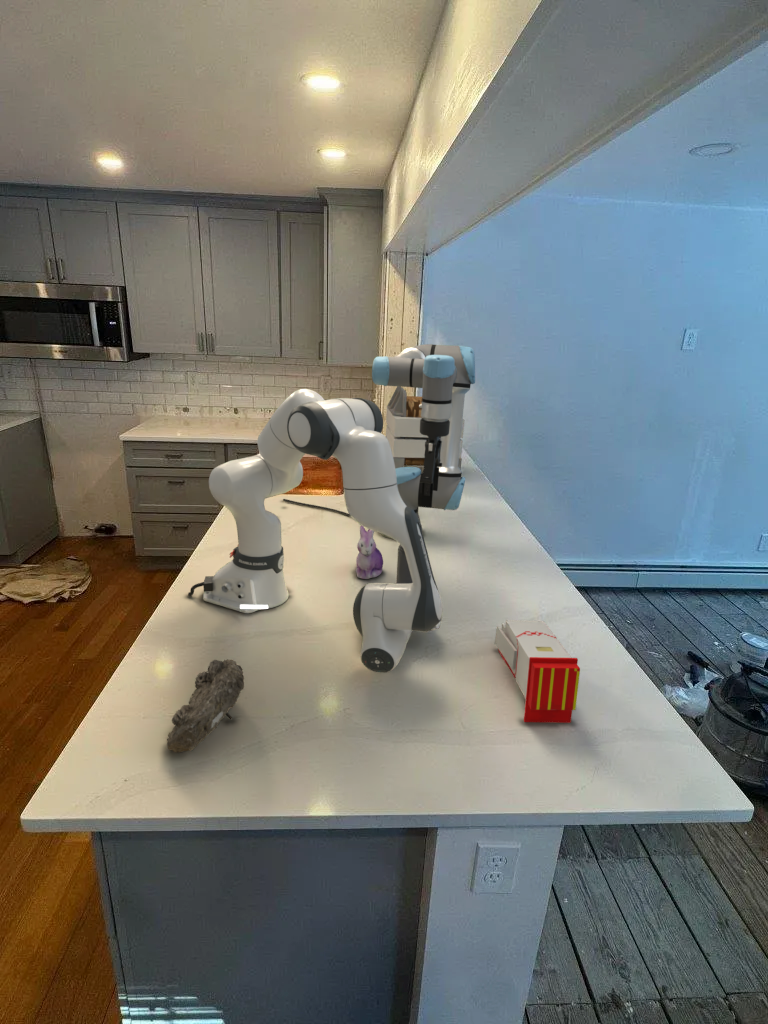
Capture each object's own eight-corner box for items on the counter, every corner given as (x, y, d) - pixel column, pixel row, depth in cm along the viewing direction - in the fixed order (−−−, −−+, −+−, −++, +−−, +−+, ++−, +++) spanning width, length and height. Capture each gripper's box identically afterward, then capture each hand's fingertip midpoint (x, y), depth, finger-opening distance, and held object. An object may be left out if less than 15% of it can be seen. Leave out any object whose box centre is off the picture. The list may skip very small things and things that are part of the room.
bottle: (418, 624, 143) (424, 532, 135) (398, 627, 141) (404, 534, 133) (409, 613, 148) (415, 524, 139) (390, 616, 146) (395, 526, 138)
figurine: (361, 582, 163) (363, 534, 158) (347, 568, 171) (348, 522, 166) (390, 577, 167) (393, 529, 162) (375, 563, 176) (377, 518, 170)
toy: (541, 605, 135) (589, 664, 106) (536, 657, 138) (581, 729, 108) (490, 604, 135) (524, 663, 105) (486, 656, 137) (518, 728, 108)
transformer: (382, 463, 289) (386, 382, 275) (445, 464, 293) (451, 384, 279) (390, 482, 257) (394, 392, 243) (460, 483, 261) (468, 394, 247)
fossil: (192, 660, 117) (244, 628, 112) (224, 691, 120) (276, 661, 115) (142, 746, 98) (202, 712, 93) (182, 779, 101) (242, 748, 96)
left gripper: (440, 618, 127) (448, 591, 140) (352, 604, 132) (368, 579, 144) (438, 642, 129) (446, 613, 142) (352, 628, 134) (367, 600, 147)
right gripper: (426, 408, 155) (421, 482, 163) (413, 427, 132) (408, 512, 140) (454, 410, 154) (447, 485, 161) (445, 430, 131) (438, 515, 139)
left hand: (406, 596), depth 143 cm, fingers open, 8 cm apart
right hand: (429, 498), depth 151 cm, fingers open, 13 cm apart
